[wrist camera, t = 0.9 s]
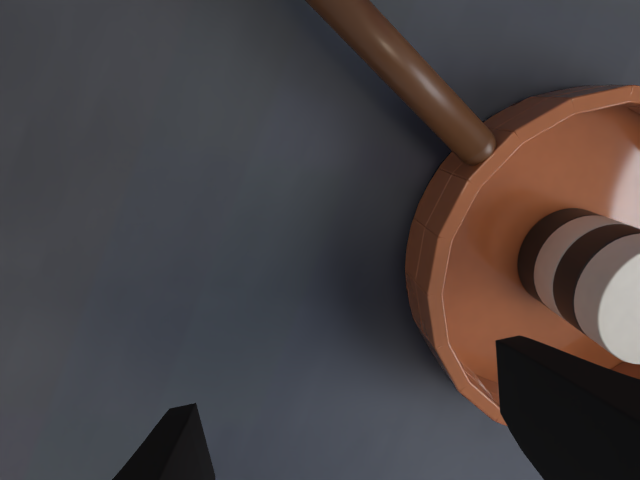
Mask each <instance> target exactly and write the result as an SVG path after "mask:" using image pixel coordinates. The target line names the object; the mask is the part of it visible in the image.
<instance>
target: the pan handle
mask: <svg viewBox="0 0 640 480" xmlns="http://www.w3.org/2000/svg"><path fill="white" fill-rule="evenodd" d="M305 1H306V2H307V3H308V4H309V5H310V6H311V7H312V8H313V9H314V10H315V11H316V12H317V13H318V14H319V15H320V16H321V17H322V18H323V19H324V20H325V21H326V22H327V23H328V24H329V25H330V26H331V28H332V29H333V30H334V31H335V32H336V33H337V34H338V35H339V36H340V37H341V38H342V39H343V40H344V41H345V42H346V43H347V44H348V45H349V46H350V47H351V48H352V49H353V50H354V51H355V52H356V53H357V54H358V55H359V56H360V57H361V58H362V59H363V60H364V61H365V62H366V63H367V64H368V65H369V66H370V68H371V69H372V70H373V71H374V72H375V73H376V74H377V75H378V76H379V77H380V78H381V79H382V80H383V81H384V82H385V83H386V84H387V85H388V86H389V87H390V88H391V89H392V90H393V91H394V92H395V93H396V94H397V95H398V96H399V97H400V98H401V99H402V100H403V101H404V102H405V103H406V104H407V105H408V107H409V108H410V109H411V110H412V111H413V112H414V113H415V114H416V115H417V116H418V117H419V118H420V119H421V120H422V121H423V122H424V123H425V124H426V125H427V126H428V127H429V128H430V129H431V130H432V131H433V132H434V133H435V134H436V135H437V136H438V137H439V138H440V139H441V140H442V141H443V142H444V143H445V144H446V145H447V147H448V148H449V149H450V150H451V151H452V152H453V153H454V154H455V155H456V156H457V157H458V158H459V159H460V160H461V161H462V162H464V163H465V164H467V165H471V166H475V165H478V164H480V163H482V162H483V161H485V160H486V159H487V158H488V157H489V156H490V155H491V154H492V153H493V151H494V150H495V148H496V145H497V143H496V139H495V136H494V135H493V133H492V132H491V131H490V130H489V129H488V128H487V127H486V125H485V124H484V123H483V122H482V121H481V120H480V119H479V118H478V117H477V116H476V115H475V114H474V113H473V111H472V110H471V109H470V108H469V107H468V106H467V105H466V104H465V103H464V102H463V101H462V100H461V99H460V97H459V96H458V95H457V94H456V93H455V92H454V91H453V90H452V89H451V88H450V87H449V86H448V85H447V84H446V82H445V81H444V80H443V79H442V78H441V77H440V76H439V75H438V74H437V73H436V72H435V71H434V70H433V68H432V67H431V66H430V65H429V64H428V63H427V62H426V61H425V60H424V59H423V58H422V57H421V56H420V54H419V53H418V52H417V51H416V50H415V49H414V48H413V47H412V46H411V45H410V44H409V43H408V42H407V40H406V39H405V38H404V37H403V36H402V35H401V34H400V33H399V32H398V31H397V30H396V29H395V28H394V26H393V25H392V24H391V23H390V22H389V21H388V20H387V19H386V18H385V17H384V16H383V15H382V14H381V12H380V11H379V10H378V9H377V8H376V7H375V6H374V5H373V4H372V3H371V2H370V1H369V0H305Z"/></svg>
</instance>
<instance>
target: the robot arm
mask: <svg viewBox="0 0 640 480" xmlns="http://www.w3.org/2000/svg"><path fill="white" fill-rule="evenodd" d="M495 342H496V357H497V372H498V387H499V403H500V414H501V415H502V417H503V419H504V421H505V423H506V424H507V426H508V428H509V430H510V432H511V433H512V435H513V437H514V438H515V440H516V442H517V443H518V445H519V447H520V448H521V450H522V451H523V453H524V454H525V455H526V457H527V458H528V459H529V461H530V462H531V463H532V464H533V466H534V467H535V468H536V470H537V471H538V472H539V474H540V475H541V476H542V478H543V479H544V480H640V379H637V378H634V377H631V376H628V375H625V374H622V373H619V372H616V371H614V370H611V369H608V368H605V367H603V366H600V365H597V364H595V363H592V362H589V361H587V360H584V359H582V358H579V357H577V356H574V355H572V354H569V353H566V352H564V351H561V350H559V349H556V348H554V347H551V346H549V345H546V344H544V343H541V342H538V341H536V340H533V339H530V338H527V337H524V336H520V335H519V336H514V337H509V338H504V339H500V340H495ZM112 480H215V473H214V469H213V466H212V462H211V458H210V454H209V451H208V447H207V443H206V439H205V435H204V432H203V428H202V424H201V420H200V416H199V413H198V409H197V405H196V403H194V404H190V405H185V406H180V407H175V408H171V409H169V410H168V411H167V412H166V414H165V415H164V416H163V417H162V419H161V420H160V421H159V422H158V424H157V425H156V426H155V428H154V429H153V430H152V432H151V433H150V434H149V435H148V437H147V438H146V439H145V441H144V442H143V443H142V444H141V446H140V447H139V448H138V449H137V451H136V452H135V453H134V454H133V456H132V457H131V458H130V459H129V461H128V462H127V463H126V464H125V466H124V467H123V468H122V469H121V470H120V471H119V473H118V474H117V475H116V476H115V477H114V478H113V479H112Z"/></svg>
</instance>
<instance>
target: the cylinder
mask: <svg viewBox="0 0 640 480" xmlns="http://www.w3.org/2000/svg"><path fill="white" fill-rule="evenodd" d="M517 267H518V274H519V278H520V280H521V283H522V285H523V286H524V288H525V290H526V291H527V292H528V293H529V294H530V295H531V296H533V297H534V298H535V299H537V300H538V301H539V302H541V303H542V304H544V305H545V306H546V307H548V308H549V309H550V310H552V311H553V312H555V313H556V314H557V315H559V316H560V317H561V318H563V319H564V320H566V321H567V322H568V323H570V324H571V325H572V326H574V327H575V328H577V329H578V330H579V331H581V332H582V333H583V334H585V335H586V336H588V337H589V338H590V339H592V340H593V341H594V342H596V343H597V344H599V345H600V346H601V347H603V348H604V349H605V350H607V351H608V352H610V353H611V354H612V355H614V356H615V357H617V358H618V359H620V360H623V361H625V362H628V363H632V364H640V229H639V228H636V227H633V226H630V225H628V224H625V223H622V222H619V221H616V220H613V219H611V218H608V217H605V216H602V215H599V214H596V213H593V212H591V211H588V210H584V209H579V208H568V209H562V210H559V211H556V212H553V213H551V214H549V215H547V216H545V217H544V218H543V219H541V220H540V221H539V222H537V223H536V224H535V225H534V226H533V227H532V229H531V230H530V231H529V232H528V234H527V235H526V237H525V239H524V240H523V242H522V245H521V247H520V250H519V254H518V265H517Z"/></svg>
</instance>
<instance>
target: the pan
mask: <svg viewBox="0 0 640 480" xmlns="http://www.w3.org/2000/svg"><path fill="white" fill-rule="evenodd" d="M484 124H485V125H486V127H487V128H488V129H489V130H490V131H491V132H492V133H493V135H494V136H495V139H496V143H497V145H496V148H495V150H494V151H493V153H492V154H491V155H490V156H489V157H488V158H487V159H486V160H485V161H483V162H482V163H480V164H478V165H475V166H471V165H467V164H465V163H464V162H462V161H461V160H460V159H459V158H458V157H457V156H456V155H455V154H454V153H453V152H451V153H450V154H449V155H448V157H447V158H446V159H445V160H444V161H443V163H442V164H441V165H440V167H439V168H438V170H437V171H436V173H435V174H434V176H433V177H432V179H431V181H430V182H429V184H428V186H427V188H426V190H425V192H424V194H423V196H422V198H421V200H420V202H419V204H418V207H417V210H416V212H415V215H414V218H413V221H412V224H411V228H410V233H409V238H408V242H407V248H406V261H405V276H406V289H407V294H408V299H409V304H410V308H411V311H412V317H413V319H414V321H415V323H416V325H417V327H418V328H419V330H420V332H421V334H422V336H423V338H424V340H425V341H426V343H427V345H428V346H429V348H430V350H431V352H432V354H433V355H434V357H435V358H436V360H437V361H438V363H439V364H440V366H441V367H442V369H443V370H444V371H445V373H446V374H447V376H448V377H449V379H450V380H451V382H452V383H453V384H454V386H455V387H456V389H457V390H458V391H459V392H460V393H461V394H462V395H463V396H464V397H466V398H467V399H468V400H469V401H470V402H472V403H473V404H474V405H475V406H476V407H478V408H479V409H480V410H481V411H482V412H484V413H485V414H486V415H487V416H488V417H489V418H491V419H492V420H493V421H495V422H497V423H500V424H503V425H506V426H507V424H506V423H505V421H504V419H503V417H502V415H501V414H500V403H499V387H498V372H497V357H496V342H495V340H500V339H504V338H509V337H514V336H519V335H520V336H524V337H527V338H530V339H533V340H536V341H538V342H541V343H544V344H546V345H549V346H551V347H554V348H556V349H559V350H561V351H564V352H566V353H569V354H572V355H574V356H577V357H579V358H582V359H584V360H587V361H589V362H592V363H595V364H597V365H600V366H603V367H605V368H608V369H611V370H614V371H616V372H619V373H622V374H625V375H628V376H631V377H634V378H637V379H640V364H632V363H628V362H625V361H623V360H620V359H618V358H617V357H615V356H614V355H612V354H611V353H610V352H608V351H607V350H605V349H604V348H603V347H601V346H600V345H599V344H597V343H596V342H594V341H593V340H592V339H590V338H589V337H588V336H586V335H585V334H583V333H582V332H581V331H579V330H578V329H577V328H575V327H574V326H572V325H571V324H570V323H568V322H567V321H566V320H564V319H563V318H561V317H560V316H559V315H557V314H556V313H555V312H553V311H552V310H550V309H549V308H548V307H546V306H545V305H544V304H542V303H541V302H539V301H538V300H537V299H535V298H534V297H533V296H531V295H530V294H529V293H528V292H527V291H526V290H525V288H524V286H523V285H522V283H521V280H520V278H519V274H518V267H517V265H518V254H519V250H520V247H521V245H522V242H523V240H524V239H525V237H526V235H527V234H528V232H529V231H530V230H531V229H532V227H533V226H534V225H535V224H536V223H537V222H539V221H540V220H541V219H543V218H544V217H545V216H547V215H549V214H551V213H553V212H556V211H559V210H562V209H568V208H579V209H584V210H588V211H591V212H593V213H596V214H599V215H602V216H605V217H608V218H611V219H613V220H616V221H619V222H622V223H625V224H628V225H630V226H633V227H636V228H639V229H640V86H637V85H608V86H606V85H601V86H578V87H574V88H569V89H564V90H556V91H552V92H548V93H544V94H540V95H536V96H532V97H529V98H527V99H525V100H523V101H521V102H518V103H516V104H513V105H511V106H509V107H508V108H506V109H504V110H502V111H500V112H499V113H497V114H495V115H493V116H492V117H490V118H489V119H488V120H486V121H485V122H484Z"/></svg>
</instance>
